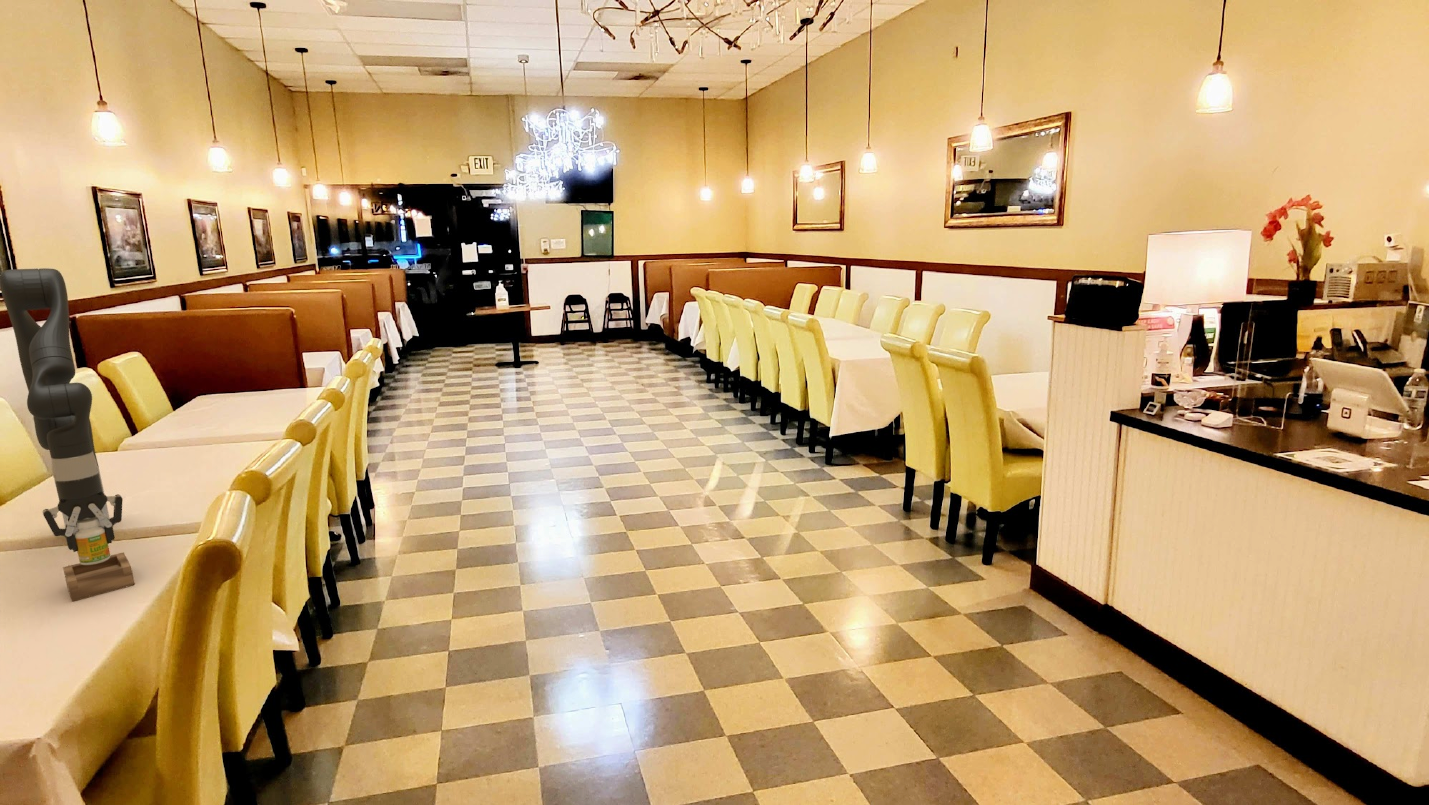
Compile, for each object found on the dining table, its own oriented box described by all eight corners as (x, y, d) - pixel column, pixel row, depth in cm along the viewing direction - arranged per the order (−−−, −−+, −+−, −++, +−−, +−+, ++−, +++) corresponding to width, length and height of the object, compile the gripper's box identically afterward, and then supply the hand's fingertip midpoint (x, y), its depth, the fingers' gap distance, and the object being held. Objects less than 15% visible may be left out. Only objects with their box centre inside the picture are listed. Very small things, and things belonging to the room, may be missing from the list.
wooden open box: (67, 585, 171) (62, 567, 170) (127, 570, 179) (123, 552, 178) (72, 601, 164) (67, 582, 163) (134, 584, 171) (131, 566, 170)
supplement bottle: (93, 566, 167) (84, 525, 165) (73, 565, 168) (64, 523, 166) (117, 556, 172) (108, 516, 170) (97, 555, 173) (88, 515, 171)
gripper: (115, 463, 173) (129, 533, 177) (31, 478, 163) (48, 551, 167) (120, 470, 168) (134, 541, 171) (34, 486, 158) (51, 561, 162)
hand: (92, 546), depth 169 cm, fingers closed on supplement bottle, 5 cm apart
